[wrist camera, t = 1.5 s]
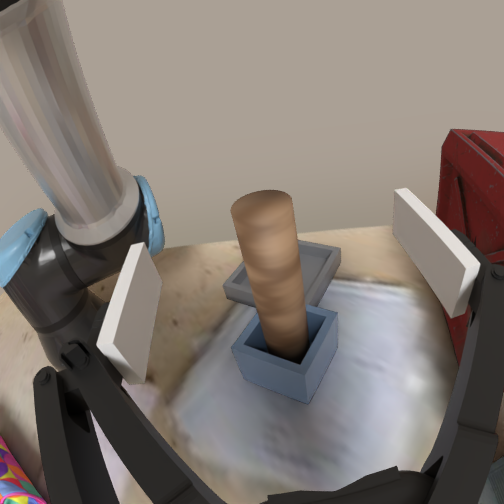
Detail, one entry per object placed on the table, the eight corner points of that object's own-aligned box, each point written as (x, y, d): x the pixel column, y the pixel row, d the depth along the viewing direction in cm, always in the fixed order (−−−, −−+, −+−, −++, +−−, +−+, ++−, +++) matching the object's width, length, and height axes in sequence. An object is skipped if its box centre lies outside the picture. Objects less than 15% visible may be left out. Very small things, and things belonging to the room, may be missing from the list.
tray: (227, 298, 51) (222, 284, 50) (269, 247, 60) (266, 234, 58) (307, 323, 44) (306, 308, 43) (340, 262, 53) (340, 247, 51)
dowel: (264, 368, 39) (218, 216, 26) (282, 339, 42) (250, 187, 29) (300, 381, 36) (273, 225, 23) (317, 350, 39) (302, 193, 26)
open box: (244, 379, 39) (230, 347, 35) (277, 329, 45) (270, 294, 40) (308, 404, 34) (304, 375, 30) (337, 347, 40) (337, 312, 36)
